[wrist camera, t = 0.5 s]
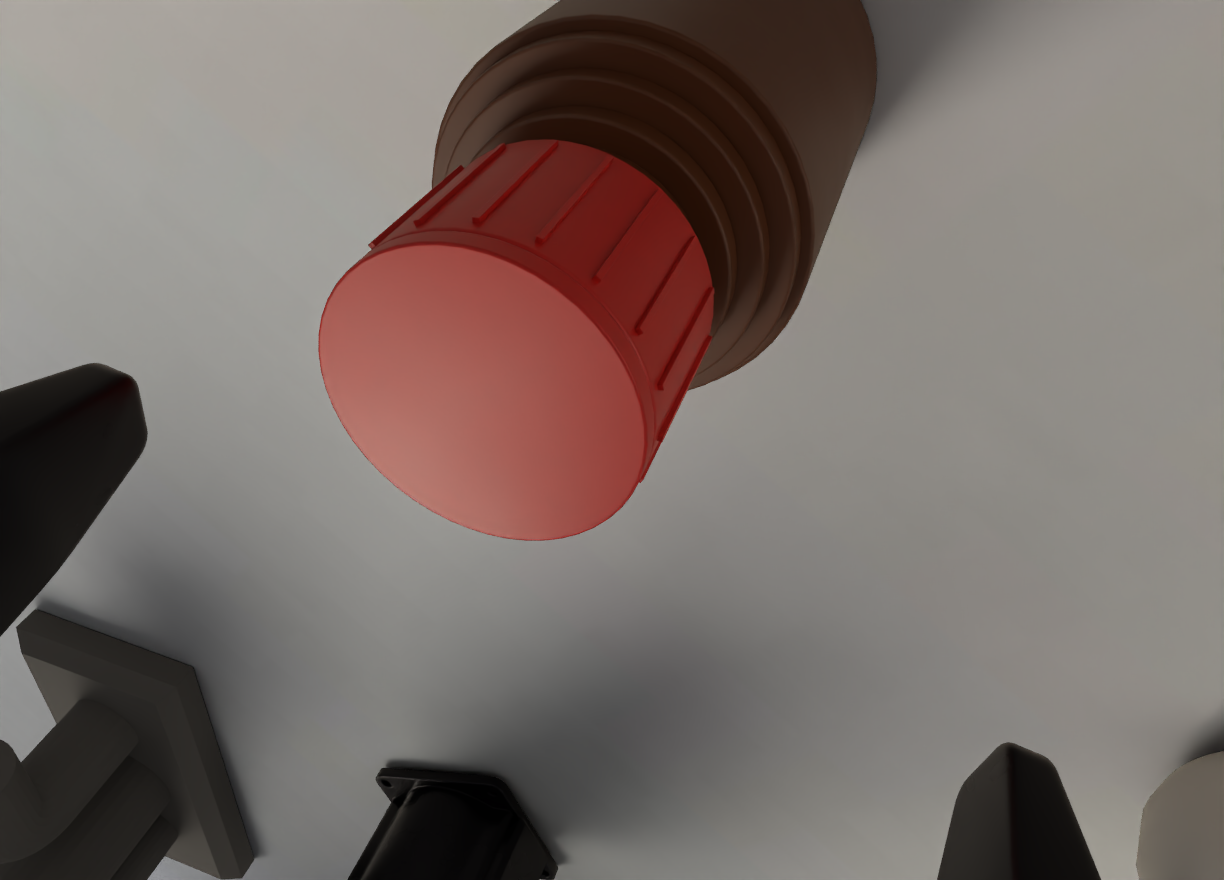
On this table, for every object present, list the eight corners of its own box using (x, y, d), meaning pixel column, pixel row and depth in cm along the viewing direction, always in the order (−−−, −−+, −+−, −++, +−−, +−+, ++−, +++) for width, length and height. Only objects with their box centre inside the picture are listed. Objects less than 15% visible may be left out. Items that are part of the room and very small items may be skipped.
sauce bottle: (641, 240, 23) (404, 582, 14) (543, -28, 20) (172, 204, 11) (904, 184, 20) (804, 569, 11) (837, -137, 17) (634, 62, 9)
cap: (503, 425, 15) (413, 552, 13) (381, 173, 13) (250, 275, 11) (754, 393, 13) (698, 537, 11) (656, 95, 11) (564, 199, 9)
